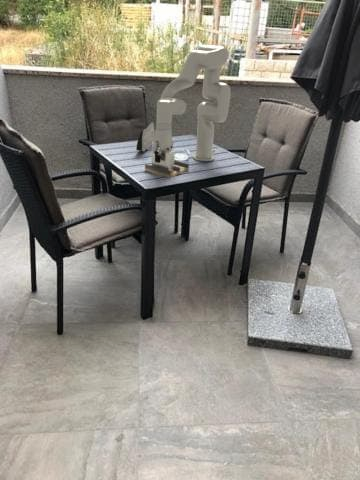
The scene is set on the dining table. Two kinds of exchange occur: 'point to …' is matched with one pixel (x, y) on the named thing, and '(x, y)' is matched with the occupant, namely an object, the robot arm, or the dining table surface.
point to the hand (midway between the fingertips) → (162, 160)
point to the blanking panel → (164, 160)
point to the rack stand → (178, 168)
